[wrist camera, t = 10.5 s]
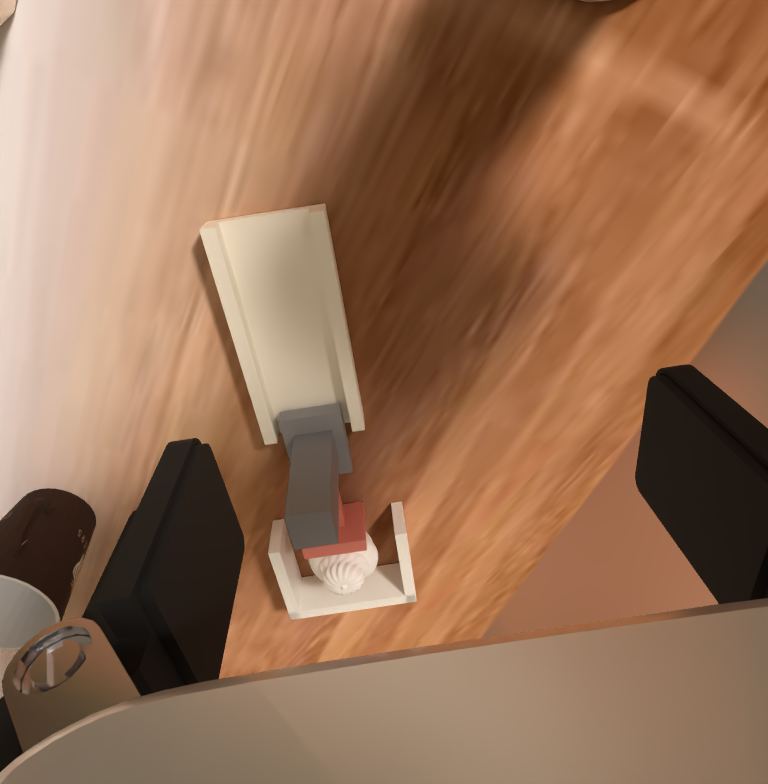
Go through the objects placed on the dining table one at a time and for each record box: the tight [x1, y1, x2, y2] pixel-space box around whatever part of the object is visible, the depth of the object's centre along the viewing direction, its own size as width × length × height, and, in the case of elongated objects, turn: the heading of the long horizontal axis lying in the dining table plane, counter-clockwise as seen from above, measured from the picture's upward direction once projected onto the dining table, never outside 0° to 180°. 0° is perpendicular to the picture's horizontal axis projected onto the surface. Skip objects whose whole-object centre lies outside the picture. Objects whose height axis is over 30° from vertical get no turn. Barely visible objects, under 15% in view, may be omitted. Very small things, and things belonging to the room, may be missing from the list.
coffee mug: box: [0, 489, 96, 650], centre depth 43 cm, size 12×9×10 cm
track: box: [199, 203, 365, 445], centre depth 39 cm, size 8×17×2 cm, turn 8°
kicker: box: [278, 403, 367, 559], centre depth 41 cm, size 5×12×10 cm, turn 8°
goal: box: [268, 501, 417, 620], centre depth 50 cm, size 12×9×4 cm
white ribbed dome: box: [309, 532, 378, 596], centre depth 48 cm, size 6×6×7 cm
